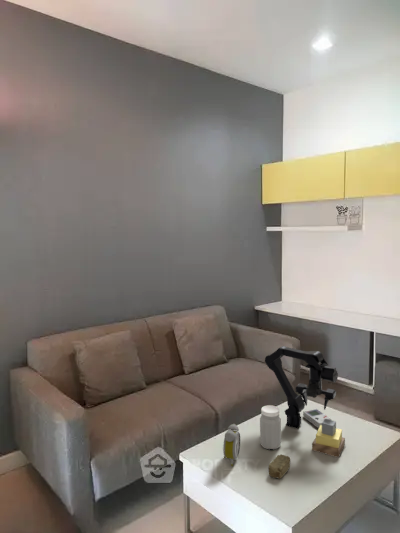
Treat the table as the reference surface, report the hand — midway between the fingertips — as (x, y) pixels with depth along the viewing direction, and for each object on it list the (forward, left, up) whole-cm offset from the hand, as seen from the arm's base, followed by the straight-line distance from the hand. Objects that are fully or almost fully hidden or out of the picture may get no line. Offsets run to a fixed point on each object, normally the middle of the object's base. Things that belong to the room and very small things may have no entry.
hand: (315, 407), depth 202 cm
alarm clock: (-26, -42, -13) cm, 51 cm away
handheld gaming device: (-2, +12, -14) cm, 18 cm away
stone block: (-4, -39, -13) cm, 42 cm away
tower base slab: (+9, -11, -14) cm, 20 cm away
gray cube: (+9, -10, -6) cm, 15 cm away
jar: (-15, -22, -13) cm, 30 cm away
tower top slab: (+9, -10, -10) cm, 17 cm away
